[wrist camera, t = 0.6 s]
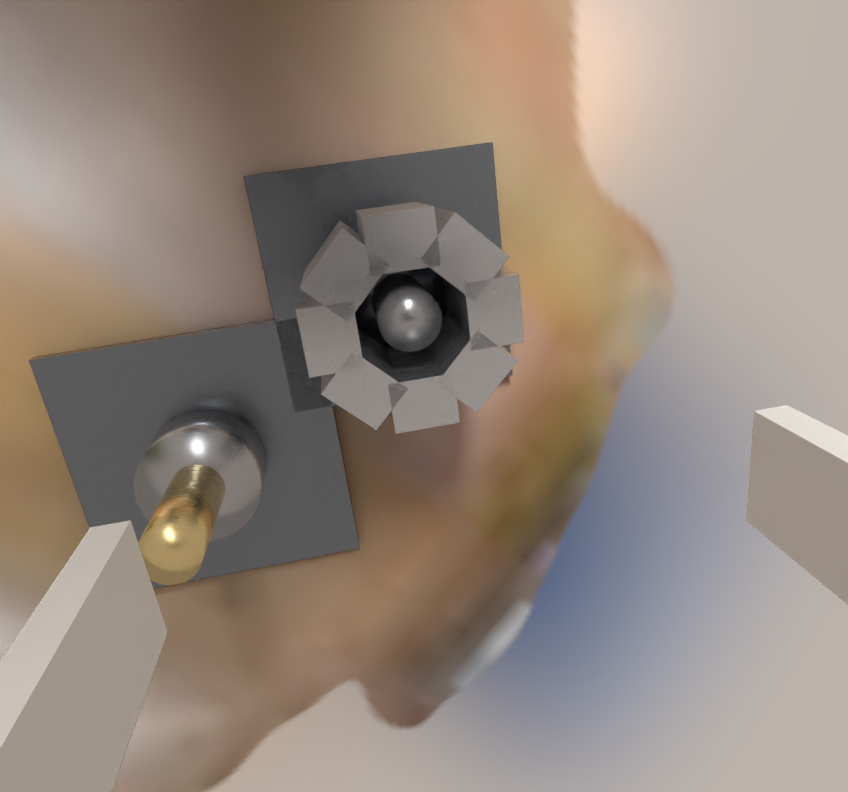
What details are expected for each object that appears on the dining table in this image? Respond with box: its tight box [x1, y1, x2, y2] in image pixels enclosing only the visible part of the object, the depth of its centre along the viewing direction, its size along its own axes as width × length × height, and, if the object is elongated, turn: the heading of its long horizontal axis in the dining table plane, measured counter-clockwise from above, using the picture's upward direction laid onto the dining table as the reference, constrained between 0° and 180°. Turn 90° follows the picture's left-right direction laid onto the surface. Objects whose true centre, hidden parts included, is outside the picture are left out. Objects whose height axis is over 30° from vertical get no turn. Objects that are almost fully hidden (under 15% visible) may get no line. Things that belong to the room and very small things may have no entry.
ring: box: [296, 202, 524, 434], centre depth 25 cm, size 8×8×5 cm
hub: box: [29, 319, 360, 588], centre depth 29 cm, size 14×14×10 cm
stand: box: [244, 142, 512, 412], centre depth 28 cm, size 12×12×10 cm
